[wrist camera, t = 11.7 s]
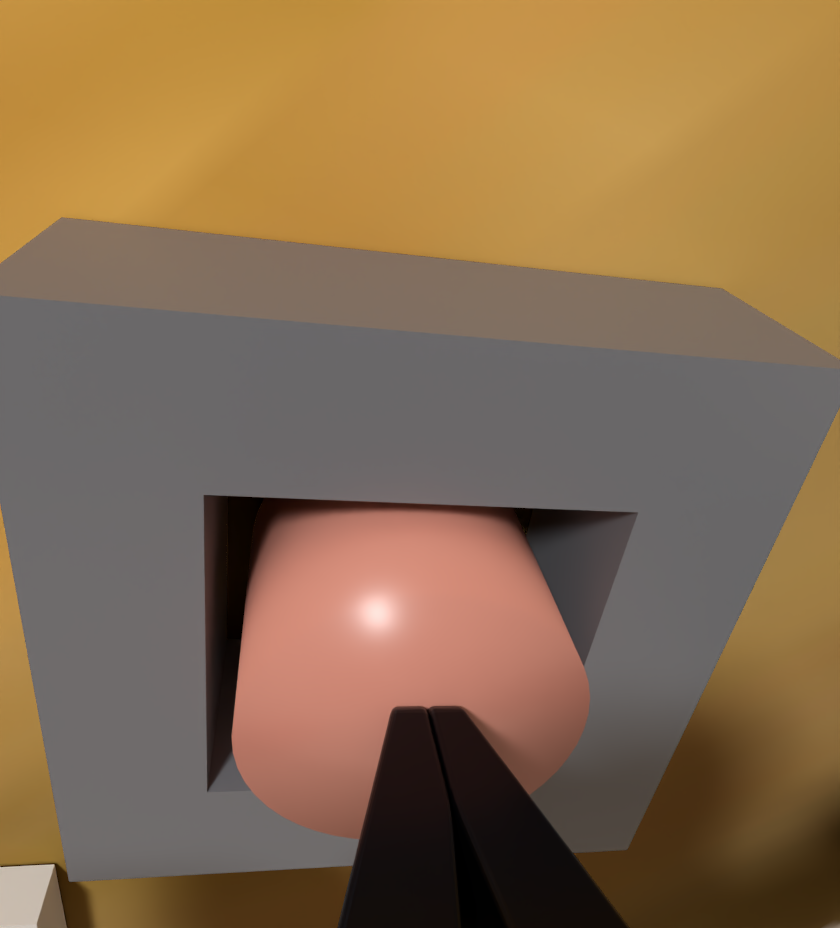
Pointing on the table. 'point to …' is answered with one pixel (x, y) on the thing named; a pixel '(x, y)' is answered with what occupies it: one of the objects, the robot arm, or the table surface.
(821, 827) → the table surface
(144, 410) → the grey square frame
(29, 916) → the paper card
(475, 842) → the robot arm
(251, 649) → the button
